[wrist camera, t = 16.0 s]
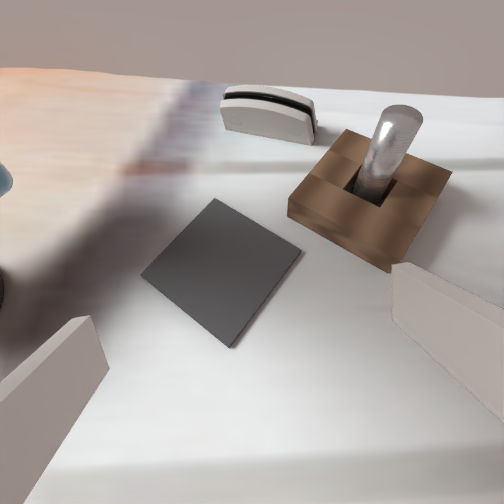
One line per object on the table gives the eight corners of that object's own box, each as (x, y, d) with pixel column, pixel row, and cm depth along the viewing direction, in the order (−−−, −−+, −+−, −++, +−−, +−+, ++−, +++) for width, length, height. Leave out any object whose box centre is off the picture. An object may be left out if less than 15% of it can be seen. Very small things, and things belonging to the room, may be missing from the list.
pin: (342, 208, 41) (374, 121, 28) (355, 190, 43) (391, 100, 29) (367, 220, 40) (413, 136, 27) (379, 202, 41) (429, 113, 28)
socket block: (287, 216, 41) (288, 197, 37) (340, 151, 46) (346, 128, 42) (387, 273, 36) (401, 258, 32) (435, 193, 41) (452, 172, 37)
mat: (142, 277, 39) (140, 275, 38) (215, 201, 44) (214, 198, 43) (229, 348, 33) (228, 347, 33) (300, 252, 39) (301, 250, 38)
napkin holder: (319, 126, 50) (323, 86, 40) (312, 150, 49) (314, 116, 39) (234, 111, 53) (218, 72, 43) (227, 134, 53) (209, 99, 43)
